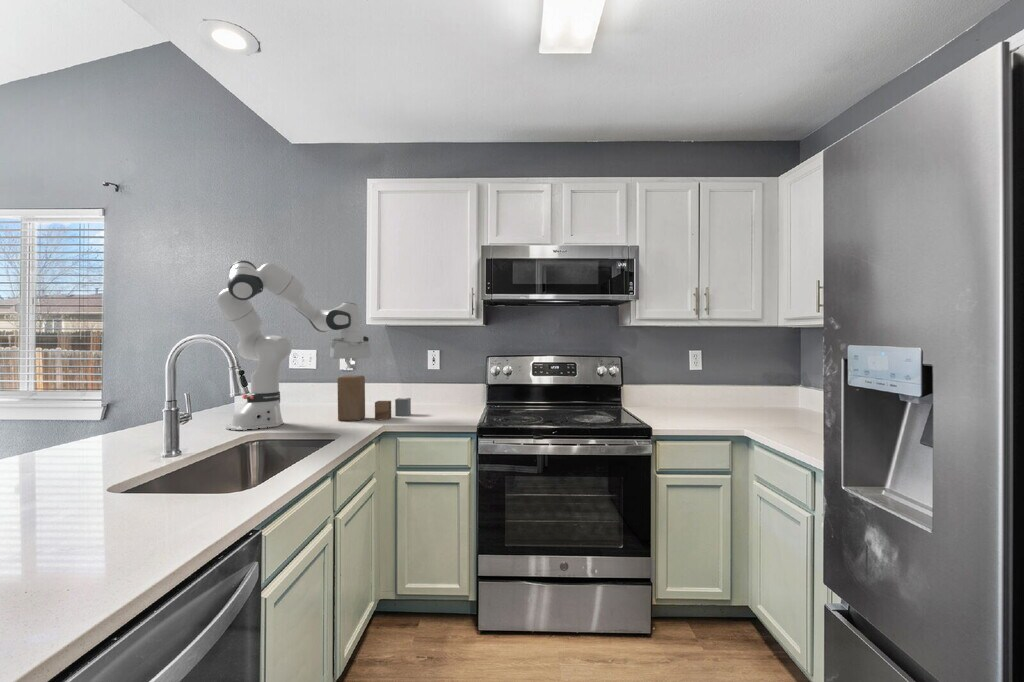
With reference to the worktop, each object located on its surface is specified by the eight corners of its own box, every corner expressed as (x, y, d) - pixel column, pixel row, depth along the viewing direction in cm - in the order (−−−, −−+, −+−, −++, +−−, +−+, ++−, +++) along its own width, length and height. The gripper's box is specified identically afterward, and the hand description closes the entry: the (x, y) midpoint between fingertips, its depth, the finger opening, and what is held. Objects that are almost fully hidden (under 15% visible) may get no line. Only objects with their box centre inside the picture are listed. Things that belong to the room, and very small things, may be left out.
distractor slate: (407, 416, 246) (407, 399, 246) (395, 416, 247) (395, 399, 247) (410, 414, 252) (410, 397, 252) (398, 414, 253) (398, 397, 253)
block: (359, 421, 233) (358, 377, 233) (337, 421, 233) (336, 377, 233) (365, 417, 243) (365, 375, 243) (344, 417, 243) (344, 375, 243)
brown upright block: (387, 419, 237) (387, 401, 237) (374, 419, 237) (374, 401, 237) (391, 417, 243) (391, 400, 243) (378, 417, 243) (378, 400, 243)
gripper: (335, 338, 227) (335, 369, 227) (373, 338, 244) (373, 367, 244) (326, 338, 231) (327, 369, 231) (364, 338, 247) (364, 366, 248)
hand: (351, 368), depth 238 cm, fingers closed
